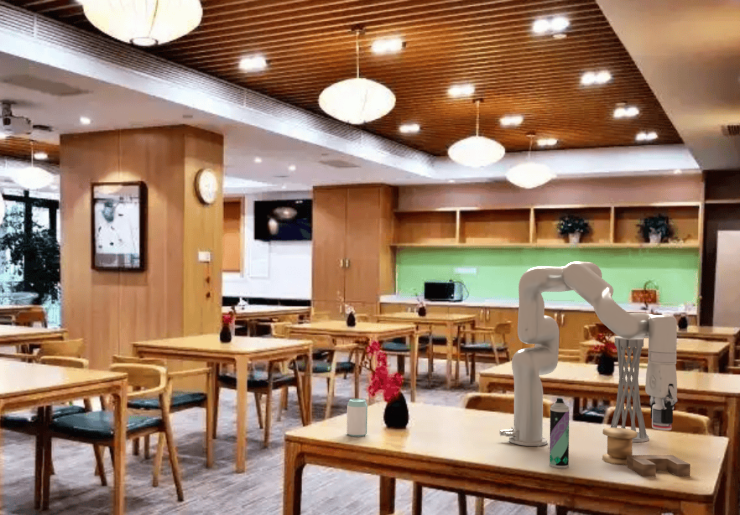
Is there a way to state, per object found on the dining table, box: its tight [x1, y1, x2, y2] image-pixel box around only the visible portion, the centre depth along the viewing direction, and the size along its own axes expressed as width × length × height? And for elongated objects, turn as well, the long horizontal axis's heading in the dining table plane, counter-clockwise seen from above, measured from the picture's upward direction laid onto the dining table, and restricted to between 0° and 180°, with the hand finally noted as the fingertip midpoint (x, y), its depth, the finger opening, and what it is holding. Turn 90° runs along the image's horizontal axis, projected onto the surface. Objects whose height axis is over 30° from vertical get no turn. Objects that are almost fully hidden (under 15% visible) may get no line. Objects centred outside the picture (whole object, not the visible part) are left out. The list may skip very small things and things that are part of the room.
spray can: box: [549, 397, 570, 469], centre depth 210 cm, size 6×6×20 cm
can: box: [346, 398, 368, 437], centre depth 245 cm, size 7×7×12 cm
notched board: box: [626, 454, 691, 478], centre depth 206 cm, size 14×10×4 cm
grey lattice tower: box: [610, 335, 650, 443], centre depth 249 cm, size 14×13×35 cm
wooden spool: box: [601, 427, 638, 466], centre depth 217 cm, size 10×10×9 cm
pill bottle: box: [651, 397, 673, 431], centre depth 204 cm, size 5×5×9 cm
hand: (661, 420), depth 204 cm, fingers closed on pill bottle, 5 cm apart
